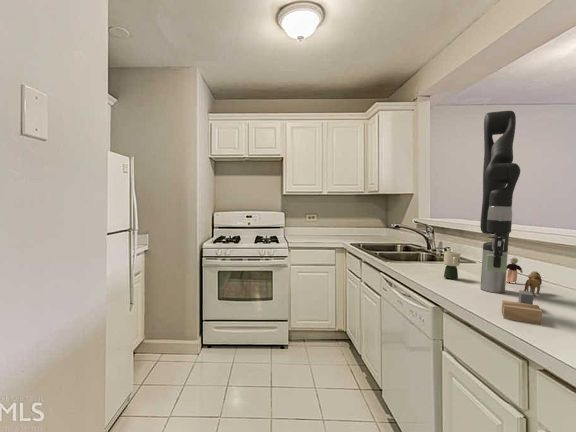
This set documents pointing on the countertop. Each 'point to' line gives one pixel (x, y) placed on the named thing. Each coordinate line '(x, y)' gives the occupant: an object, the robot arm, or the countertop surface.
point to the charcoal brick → (525, 297)
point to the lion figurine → (533, 282)
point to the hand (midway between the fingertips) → (496, 266)
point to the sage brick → (491, 260)
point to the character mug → (451, 264)
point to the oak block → (521, 312)
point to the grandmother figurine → (513, 270)
